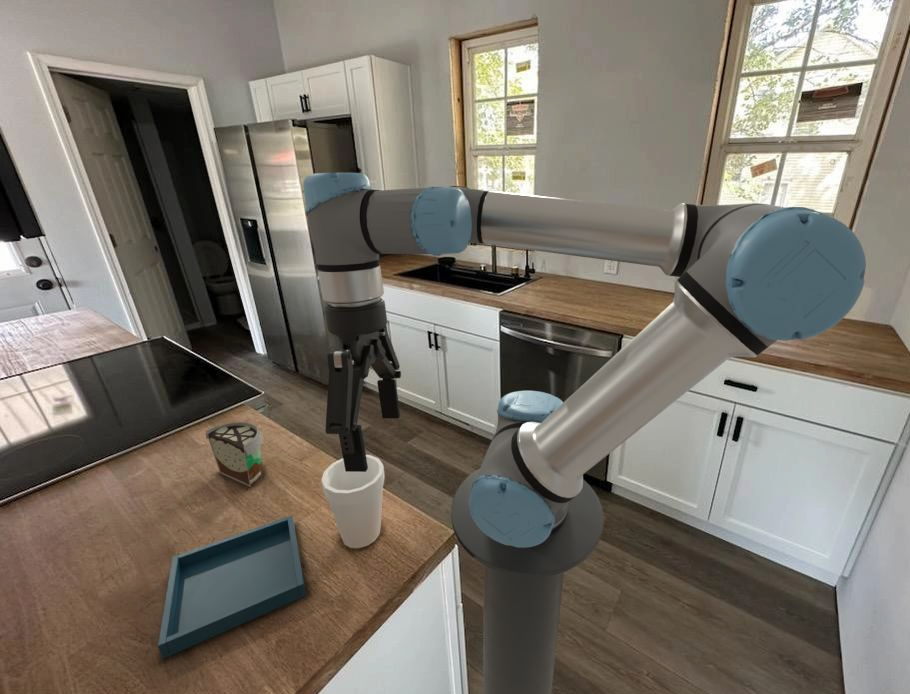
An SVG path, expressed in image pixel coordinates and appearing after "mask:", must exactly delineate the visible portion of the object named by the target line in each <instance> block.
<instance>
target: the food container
mask: <svg viewBox="0 0 910 694" xmlns="http://www.w3.org/2000/svg"><path fill="white" fill-rule="evenodd" d="M205 438H206V440H208V442H209V445H210V448H211V451H212V455H213V456H214V459H215V462H216V465H217V468H218V470H219V471H218V472H219V474H221V475H223V476H225V477H228V478H230V479H231V480H234V481H236V482H238V483H241V484H244V485H245V486H247V487H250V488H252V487H253V486H254V485H256V484H257V483H258V482H259V481H260V480H261V479H262V476H263V475H264V469H263V462H262V461H263V460H262V453H261V452H262V451H261V445H262V443H263V440H264V437H263V435H262V433H261V430H260V429H259V428H258V427H257V426H256V425H255V424H253V423H251V422H244V421H235V422H229V423H223V424H220V425H216V426H214V427H211V428H209V429H206V430H205Z"/></svg>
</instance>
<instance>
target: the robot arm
mask: <svg viewBox="0 0 910 694" xmlns="http://www.w3.org/2000/svg"><path fill="white" fill-rule="evenodd" d="M303 195H304V203H305V213H304V214H305V216H306V219H307V224H308V227H309V232H310V237H311V241H312V245H313V246H312V247H313V250H314V256H315V260H316V269H317V274H318V276H317V278H316V280H317V282H318V283H319V286H320V291H321V297H322V301H324V302H325V303H326V304H325V305H324V307H323V311H324V316H325V322H326V327H327V331H328V332H329V333H330V334H332V335H334V336H336V337H338V338H339V340H340V343H339V344H340V345H339V346H340V347H339V350H332V351H331V350H329V351H328V352H327V357H326V358H327V365H328V366H327V367H328V383H327V398H326V399H327V400H326V414H325V434H326V435H338V439H339V443H340V449H341V454H342V455H341V456H342V458H343V460H344V465H345V471H346V472H366V471H367V469H368V465H367V459H366V455H367V454H366V447H365V442H364V436H363V429H362V425H361V424H358V420H359V415H360V409H361V408H360V407H361V401H362V395H363V387H364V382H365V381H364V380H365V379H367V378H368V377H369V374H370V373H369V372H370V368H371V369H372V371H374V373H375V374H376V375H377V376H378V378H379V379H378V380H377V382H376V384H377V391H378V397H379V404H380V405H379V406H380V411H381V418H382V419H400V417H401V411H400V403H399V397H398V396H399V395H398V387H397V380H396V379H401V377H402V371H401V370H400V362H399V360H398V357H397V354H396V351H395V349H394V346H393V343H392V341H391V338H390V336H389V332H388V326H387V324H388V316H387V307H386V301H385V300H384V299H383V298H382V297H383V295H384V294H385V290H384V282H383V277H382V276H383V275H382V269H381V264H380V263H381V262H380V255H432V256H434V257H436V256H437V257H440V256H442V255H449V254H450V255H452V254H460V253H462V252H464V251H465V250H466V249H467V248H468V246H469V243H470V244H478V245H479V244H481V245H490V246H498V247H505V248H512V249H519V250H520V249H521V250H527V251H535V252H543V253H550V254H557V255H566V256H574V257H582V258H589V259H596V260H605V261H613V262H619V263H627V264H634V265H640V266H641V265H642V266H650V267H658V268H659V269H660V270H661V271H662V272H663V274H664V275H665V276H668V277H676V278H677V279H676V280H675V282H674V292H673V294H674V297H673V300H672V302H671V303H670V304H669V305H668V306H667V307H666V308H665V309H664V310H662V311H661V312H660V313H659V314H658V315H657V316H656V317H655V318H654V319H652V321H651V322H649V324H647V325H646V326H645V327H644V328H643V329H642V330H641V331H639V333H637V335H636V336H634V337H633V338H632V339H631V340H630V341H629V342H628V343H626V345H625V346H623V347H622V348H621V349H620V350H619V351H618V352H617V353H616V354H615V355H614V356H612V357H611V358H610V359H608V361H606V363H605V364H603V366H601V367H600V369H598V370H597V371H596V372H595V373H594V374H593V375H592V376H591V377H590V378H588V379H587V380H586V381H585V382H584V383H583V384H582V385H581V386H579V388H577V390H575V391H574V392H573V393H572V394H571V395H570V396H569V397H568V398H566V399H565V400H564V401H562V399H560V398H559V397H558V396H554V395H553V394H550V393H547V392H544V391H537V390H517V391H511V392H509V393H507V394H504V396H502V397H501V398H500V399H499V401H498V405H497V409H496V414H497V425H496V429H495V432H494V434H493V437H492V439H491V442H490V443H489V446H488V448H487V450H486V453H485V456H484V458H483V461H482V463H481V465H480V468H479V469H480V470H479V473H478V475H477V478H476V479H475V480H474V482H473V484H472V491H471V494H470V497H469V509H470V511H471V516H472V519H473V520H474V522H475V523H476V525H477V526H478V527H479V528H480V530H481V531H483V532H484V533H485V534H486V535H487V536H489V537H490V538H492V539H493V540H495V541H497V542H500V543H502V544H505V545H511V546H514V547H519V548H526V547H533V546H536V545H539V544H541V543H542V542H544V541H545V540H546V539H547V538H548V537H549V535H550V534H552V533H554V532H555V531H557V530H558V529H559V528H560V527H561V526H562V525H563V523H564V522H565V520H566V517H567V513H568V502H569V501H570V500H571V499H573V498H574V497H575V496H576V495H577V494H579V492H580V491H581V490H582V487H583V480H584V474H586V473H587V472H588V471H589V470H591V469H592V468H594V467H595V466H596V465H597V464H598V463H600V462H601V461H602V460H604V458H606V457H607V456H608V455H610V454H611V453H612V452H613V451H615V450H616V449H617V448H619V447H620V446H621V445H622V444H624V443H625V442H626V441H627V440H628V439H630V438H631V437H632V436H633V435H635V434H636V433H637V432H638V431H640V430H641V429H642V428H643V427H645V426H646V425H647V424H649V423H650V422H651V421H652V420H654V419H655V418H656V417H657V416H658V415H660V414H661V413H662V412H664V411H665V410H666V409H667V408H668V407H670V406H671V405H673V403H675V402H676V401H677V400H679V399H680V398H681V397H683V396H684V395H685V394H686V393H688V392H689V391H690V390H692V389H693V388H694V387H695V386H697V385H698V384H699V383H700V382H701V381H702V380H704V379H705V378H706V377H708V376H709V375H710V374H712V373H713V372H714V371H715V370H717V369H718V368H719V367H720V366H721V365H723V364H724V363H725V362H726V361H728V360H729V359H732V358H735V357H736V358H737V357H740V358H756V357H758V356H759V355H760V354H761V353H763V352H764V351H765V350H767V349H768V348H769V347H771V346H773V344H775V343H776V342H777V341H783V342H784V341H785V342H787V341H794V340H806V339H810V338H814V337H816V336H818V335H821V334H823V333H824V332H827V331H828V330H830V329H831V328H833V327H835V326H836V325H837V324H838V323H840V322H841V321H842V320H843V319H844V318H845V317H846V316H847V315H848V314H849V313H850V312H851V310H852V309H853V308H854V306H855V305H856V303H857V302H858V300H859V298H860V296H861V294H862V291H863V289H864V284H865V275H866V274H865V273H866V268H867V262H866V261H867V260H866V254H865V251H864V248H863V246H862V243H861V242H860V239H859V237H857V236H856V234H855V232H854V231H853V230H852V229H851V228H849V227H848V226H847V225H846V224H845V223H843V222H842V221H841V220H839V219H837V218H834V217H833V216H830V215H827V214H824V213H823V212H821V211H818V210H816V209H813V208H809V207H805V206H788V207H786V206H779V205H773V204H768V203H759V202H753V203H752V202H751V203H736V204H734V203H733V204H693V203H683V202H681V203H679V204H678V205H677V206H675V207H673V208H672V209H664V208H654V207H644V206H637V205H627V204H617V203H615V204H614V203H608V202H598V201H589V200H579V199H569V198H560V197H551V196H542V195H532V194H523V193H514V192H506V191H496V190H495V191H494V190H484V189H474V188H470V187H468V186H463V185H462V186H461V185H451V186H448V187H444V186H428V187H413V188H396V189H382V190H380V189H373V188H372V186H371V184H370V179H369V178H368V176H367V175H365V174H364V173H361V172H315V173H311V174H309V175H307V176H306V177H305V178H304V180H303Z"/></svg>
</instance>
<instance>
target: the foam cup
mask: <svg viewBox="0 0 910 694" xmlns="http://www.w3.org/2000/svg"><path fill="white" fill-rule="evenodd" d="M366 459H367V465H368V469H367V471H366V472H346V471H345V465H344V460H343V457H342V458H340V459H338V460H336V461H334V462H332V463H331V464H330V465H329V466H328V467H327V468H326V469H325V470H324V471H323V474H322V477H321V486H322V492H323V494H324V496H325V499H326V500H327V501H328V504H329V508H330V510H331V512H332V515H333V518H334V521H335V524H336V528H337V530H338V532H339V535H340V537H341V538H340V539H341V540H342V542H343V544H344V546H346V547H348V548H350V549H361V548H364V547H367V546H369V545H371V544H372V543H373V542H375V541H376V540H377V538H378V537H379V536H380V534H381V526H382V509H383V508H382V507H383V493H384V492H383V491H384V485H385V478H386V476H385V468H384V464H383V462H382V461H381V460H380V458H378V457H376V456H374V455H371V454H366Z"/></svg>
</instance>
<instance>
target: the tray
mask: <svg viewBox="0 0 910 694" xmlns="http://www.w3.org/2000/svg"><path fill="white" fill-rule="evenodd" d="M297 537H298V536H297V532H296V527H295V521H294V516H293V514H291V515H289V516H285V517H282V518H279V519H276V520H274V521H271V522H268V523H266V524H262V525H260V526H257V527H254V528H251V529H248V530H246V531H245V530H244V531H243V532H240V533H237V534H233V535H231V536H228V537H226V538H223V539H220V540H217V541H214V542H211V543H208V544H205V545H201V546H199V547H197V548H194V549H191V550H188V551H185V552H182V553H179V554H177V555H174V556H172V557H171V562H170V568H169V575H168V579H167V580H168V581H167V587H166V591H165V592H166V593H165V598H164V605H163V611H162V617H161V623H160V629H159V635H158V640H157V641H158V642H157V648H158V651H159V653H160V655H161V659H162V660H164V659H167V658H168V657H172V656H174V655H176V654H178V653H180V652H182V651H185V650H187V649H189V648H192V647H193V646H195V645H198V644H201V643H203V642H205V641H207V640H209V639H211V638H214V637H216V636H218V635H221V634H224V633H226V632H227V631H229V630H232V629H234V628H236V627H238V626H242V625H243V624H245V623H248V622H250V621H253V620H254V619H256V618H259V617H261V616H264V615H266V614H268V613H270V612H273V611H275V610H277V609H280V608H282V607H285V606H286V605H289V604H290V603H293V602H295V601H298V600H300V599H302V598H304V597H306V596H307V593H306V587H305V581H304V575H303V568H302V563H301V556H300V550H299V543H298V538H297Z"/></svg>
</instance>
